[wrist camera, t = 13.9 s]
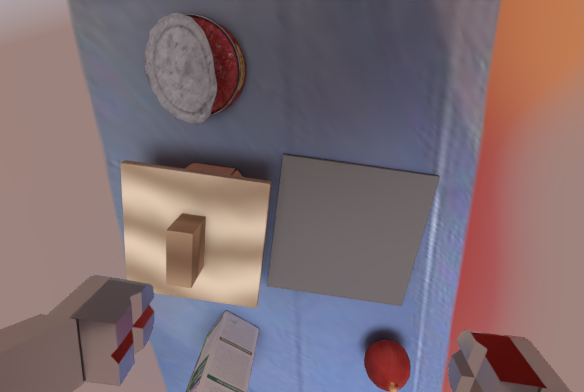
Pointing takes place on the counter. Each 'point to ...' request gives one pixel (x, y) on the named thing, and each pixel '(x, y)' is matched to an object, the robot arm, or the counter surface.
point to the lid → (194, 232)
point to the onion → (387, 365)
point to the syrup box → (226, 357)
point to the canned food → (193, 66)
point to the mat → (348, 228)
